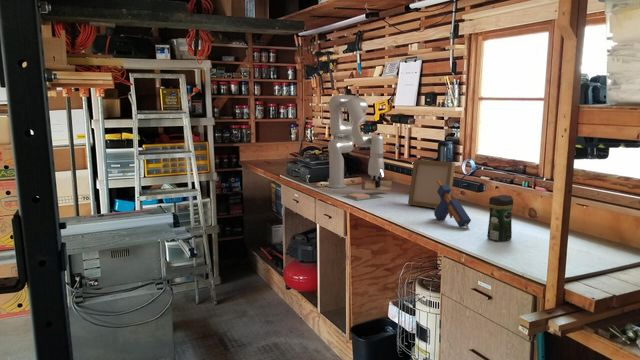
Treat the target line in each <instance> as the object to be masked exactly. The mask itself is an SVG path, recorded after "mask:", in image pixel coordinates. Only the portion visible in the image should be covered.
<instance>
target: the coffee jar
mask: <svg viewBox="0 0 640 360" xmlns="http://www.w3.org/2000/svg"><path fill="white" fill-rule="evenodd" d="M488 207H489V219H488V227H487V233H486V234H487V235H486V237H487V239H489V240H490V241H492V242H507V241H509V240H511V239H512V233H513V232H512V229H513V228H512V220H513V219H512V213H513V208H514V198H513V197H512V196H511V195H507V194H499V195H493V196H490V197H489V201H488Z"/></svg>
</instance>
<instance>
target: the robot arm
mask: <svg viewBox="0 0 640 360" xmlns="http://www.w3.org/2000/svg"><path fill="white" fill-rule="evenodd" d="M368 108H369V104H368V102H367V100H366V98H364V97H360V96H358V95H353V94H337V95H333V96H332V97H330V99H329V101H328V111H329V120H330V121H329V126H330V127H329V128H330V130H329V131H330V135H331V137H336V138H333V139H330V140H329V141H328V143H327V147H328V148H327V149H328V156H329V162H328V163H329V170H328V171H329V173H328V174H329V179H327V182H328V183H327V184H326V186H327V187H328V188H333V189H343V188H346V187H347V184H345V180H344V179H345V160H344V157H343V155H342V154H346V153H351V152H352V151H353V150H354V143H355V145H356V146H357V147H359V148H365V147H367V148H369V147H370V151H369V152H370V154H369V155H370V157H369V160H368V167H367V173H368V175H369V176H370V179H371V180H370V181H376V188H377V187H380V181H382V179H383V178H384V177H385V175H384V173H385V162H384V139H385V138H384V136H383V135H381V134H376V133H375V134H374V133H364V134H363V133H362V132H361V130H360V126H361V125H363V124H364V123H365V122H366V121H367V116H366V114H365V113H364V112H366V111H367V110H368ZM342 109H346V111H347V112H348V114H349V117H350V119H351V121H352V123H351V122H349V121H344V113H343V111H342ZM337 137H338V138H337ZM339 137H342V138H339Z"/></svg>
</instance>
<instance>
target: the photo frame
mask: <svg viewBox="0 0 640 360" xmlns="http://www.w3.org/2000/svg"><path fill="white" fill-rule="evenodd" d="M412 165H413V166H412V172H411V180H410V187H409V193H408V194H409V195H408V200H407V205H412V206H417V207H418V206H419V207H426V208H432V209H436V208H437V206H438V205H439V203H440V202H441V198H440V196H439V194H438V193H437V191H438V189H439V187H440V186H439V185H438V183H437V181H438V180H439V181H440V183H441V184H442V185H448V186H449V187H450V189H451V191H450V193H449V197H450V198H451V199H452V190H453V184H454V176H455V168H456V163H455V162H453V161H451V162H450V161H439V160H438V161H437V160H428V159H427V160H426V159H413V164H412Z"/></svg>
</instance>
